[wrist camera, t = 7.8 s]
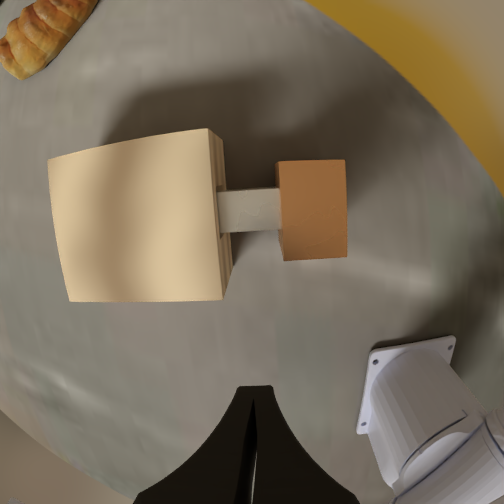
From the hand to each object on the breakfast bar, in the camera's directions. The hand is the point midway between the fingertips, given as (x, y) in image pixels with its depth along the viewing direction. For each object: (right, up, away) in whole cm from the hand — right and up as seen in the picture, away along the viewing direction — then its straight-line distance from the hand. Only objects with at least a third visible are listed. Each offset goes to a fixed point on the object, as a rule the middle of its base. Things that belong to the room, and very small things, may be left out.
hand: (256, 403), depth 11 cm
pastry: (-17, +24, +5) cm, 30 cm away
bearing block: (-6, +9, +8) cm, 13 cm away
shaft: (-4, +9, +7) cm, 12 cm away
